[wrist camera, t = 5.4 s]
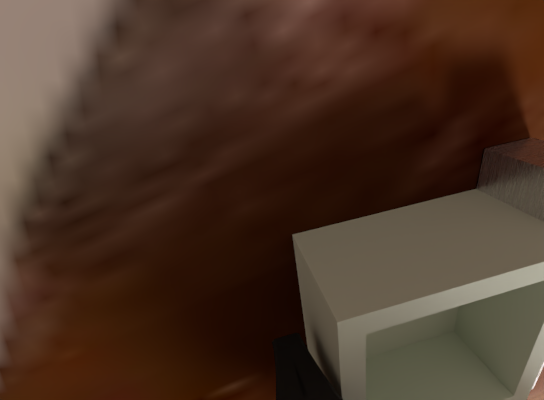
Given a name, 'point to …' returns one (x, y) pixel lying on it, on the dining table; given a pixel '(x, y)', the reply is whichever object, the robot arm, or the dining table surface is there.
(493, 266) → the socket block
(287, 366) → the robot arm
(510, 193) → the rail
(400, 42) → the dining table surface
